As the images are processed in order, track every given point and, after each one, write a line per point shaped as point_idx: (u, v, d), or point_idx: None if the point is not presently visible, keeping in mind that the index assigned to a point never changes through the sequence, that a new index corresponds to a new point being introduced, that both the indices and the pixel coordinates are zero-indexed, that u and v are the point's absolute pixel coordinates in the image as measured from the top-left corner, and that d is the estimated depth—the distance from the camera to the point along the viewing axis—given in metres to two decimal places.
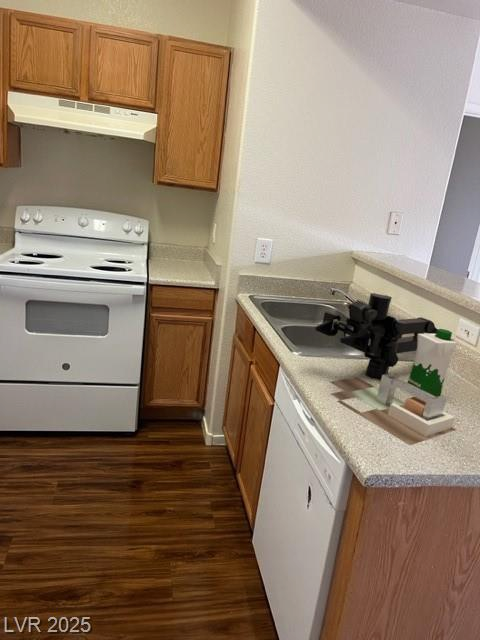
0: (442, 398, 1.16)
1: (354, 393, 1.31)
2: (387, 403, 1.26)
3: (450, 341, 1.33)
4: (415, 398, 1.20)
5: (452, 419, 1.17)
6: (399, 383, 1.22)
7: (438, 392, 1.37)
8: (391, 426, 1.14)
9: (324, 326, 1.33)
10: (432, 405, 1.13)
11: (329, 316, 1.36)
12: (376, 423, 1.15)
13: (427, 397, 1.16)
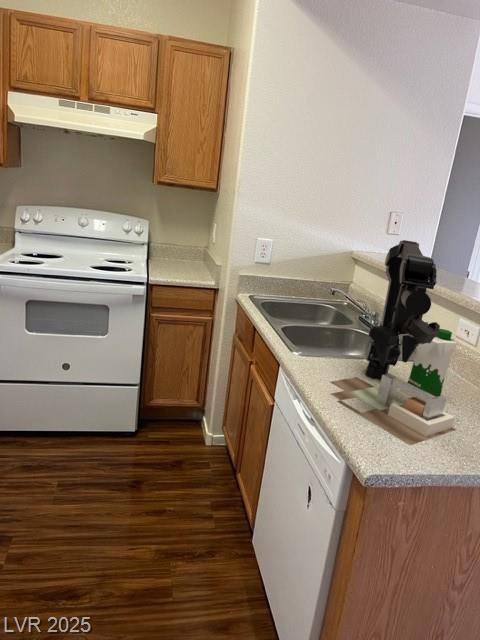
0: (442, 398, 1.16)
1: (354, 393, 1.31)
2: (387, 403, 1.26)
3: (450, 341, 1.33)
4: (415, 398, 1.20)
5: (452, 419, 1.17)
6: (399, 383, 1.22)
7: (438, 393, 1.37)
8: (391, 426, 1.14)
9: None
10: (432, 405, 1.13)
11: (391, 346, 1.17)
12: (376, 423, 1.15)
13: (427, 397, 1.16)
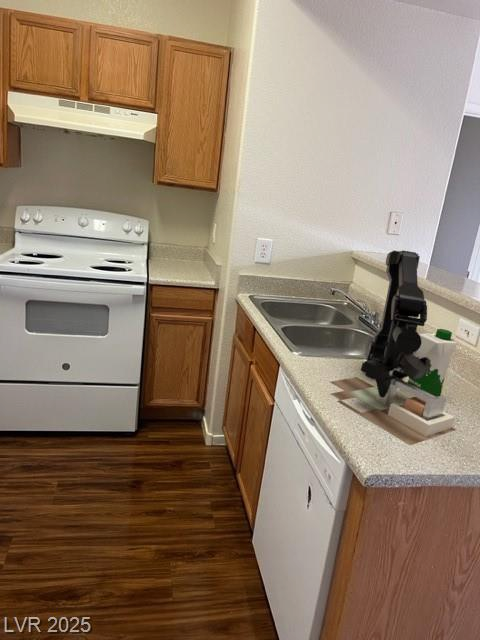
0: (442, 398, 1.16)
1: (354, 393, 1.31)
2: (387, 403, 1.26)
3: (450, 341, 1.33)
4: (415, 398, 1.20)
5: (452, 419, 1.17)
6: (399, 383, 1.22)
7: (438, 393, 1.37)
8: (391, 426, 1.14)
9: None
10: (432, 405, 1.13)
11: (390, 379, 1.22)
12: (376, 423, 1.15)
13: (427, 397, 1.16)
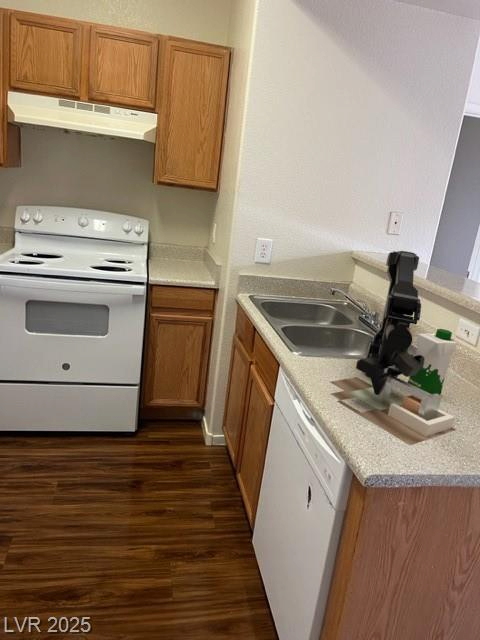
0: (437, 395, 1.17)
1: (354, 393, 1.31)
2: (383, 401, 1.27)
3: (450, 341, 1.33)
4: (412, 396, 1.21)
5: (452, 419, 1.17)
6: (395, 381, 1.24)
7: (438, 393, 1.37)
8: (391, 426, 1.14)
9: None
10: (427, 402, 1.15)
11: (385, 377, 1.23)
12: (376, 423, 1.15)
13: (422, 395, 1.17)
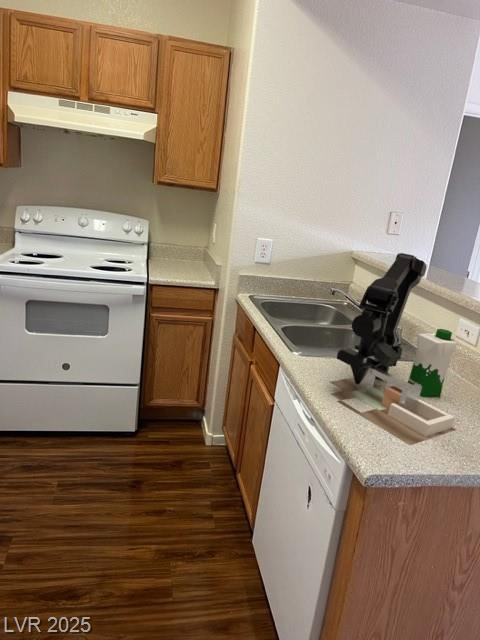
0: (418, 386, 1.22)
1: (354, 393, 1.31)
2: (367, 392, 1.32)
3: (450, 341, 1.33)
4: (394, 387, 1.25)
5: (452, 419, 1.17)
6: (378, 372, 1.28)
7: (438, 393, 1.37)
8: (391, 426, 1.14)
9: None
10: (408, 392, 1.19)
11: (364, 366, 1.28)
12: (376, 423, 1.15)
13: (403, 385, 1.22)
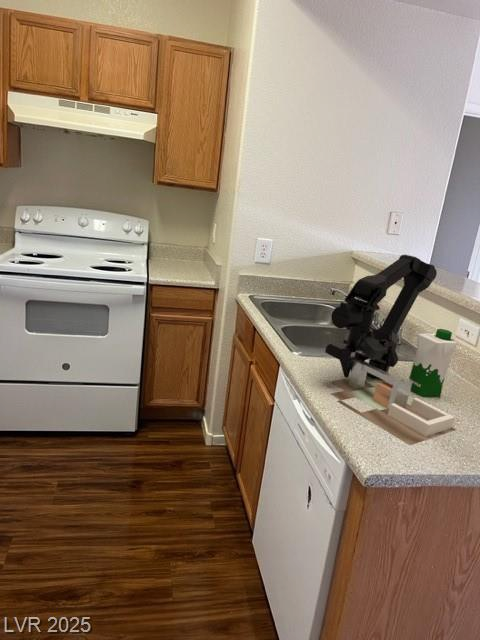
0: (408, 381, 1.24)
1: (354, 393, 1.31)
2: (358, 387, 1.34)
3: (450, 341, 1.33)
4: (385, 383, 1.27)
5: (452, 419, 1.17)
6: (369, 368, 1.30)
7: (438, 393, 1.37)
8: (391, 426, 1.14)
9: None
10: (398, 387, 1.21)
11: (353, 360, 1.32)
12: (376, 423, 1.15)
13: (394, 380, 1.24)
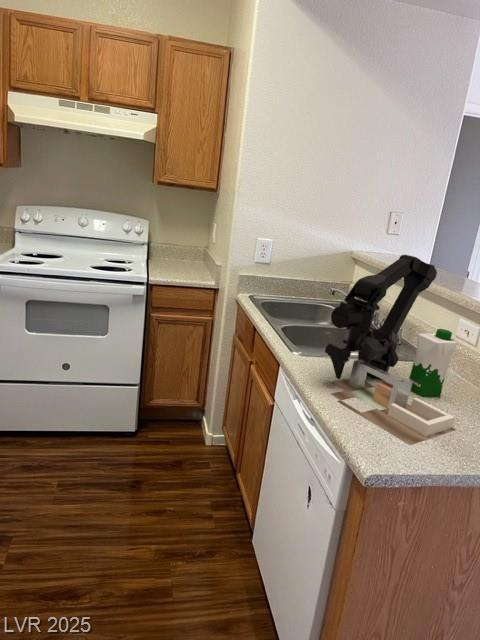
0: (408, 381, 1.24)
1: (354, 393, 1.31)
2: (358, 387, 1.34)
3: (450, 341, 1.33)
4: (385, 383, 1.27)
5: (452, 419, 1.17)
6: (369, 368, 1.30)
7: (438, 393, 1.37)
8: (391, 426, 1.14)
9: None
10: (398, 387, 1.21)
11: (345, 361, 1.30)
12: (376, 423, 1.15)
13: (394, 380, 1.24)
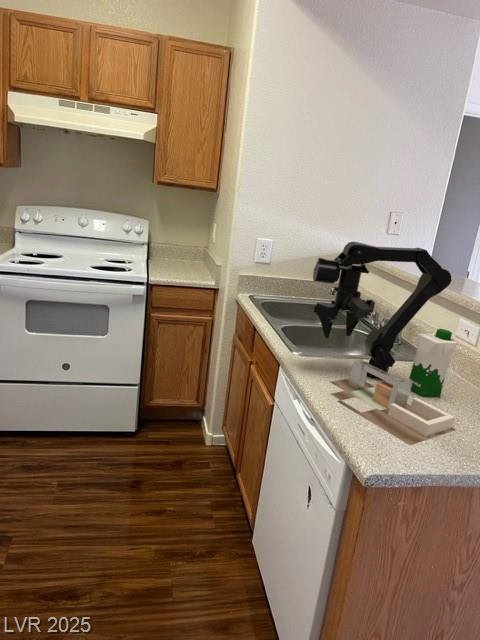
0: (408, 381, 1.24)
1: (354, 393, 1.31)
2: (358, 387, 1.34)
3: (450, 341, 1.33)
4: (385, 383, 1.27)
5: (452, 419, 1.17)
6: (369, 368, 1.30)
7: (438, 393, 1.37)
8: (391, 426, 1.14)
9: None
10: (398, 387, 1.21)
11: (332, 320, 1.35)
12: (376, 423, 1.15)
13: (394, 380, 1.24)
